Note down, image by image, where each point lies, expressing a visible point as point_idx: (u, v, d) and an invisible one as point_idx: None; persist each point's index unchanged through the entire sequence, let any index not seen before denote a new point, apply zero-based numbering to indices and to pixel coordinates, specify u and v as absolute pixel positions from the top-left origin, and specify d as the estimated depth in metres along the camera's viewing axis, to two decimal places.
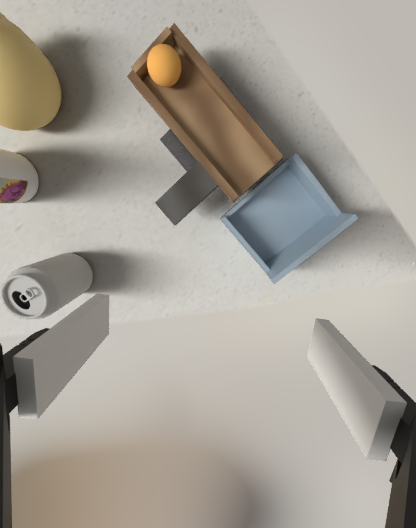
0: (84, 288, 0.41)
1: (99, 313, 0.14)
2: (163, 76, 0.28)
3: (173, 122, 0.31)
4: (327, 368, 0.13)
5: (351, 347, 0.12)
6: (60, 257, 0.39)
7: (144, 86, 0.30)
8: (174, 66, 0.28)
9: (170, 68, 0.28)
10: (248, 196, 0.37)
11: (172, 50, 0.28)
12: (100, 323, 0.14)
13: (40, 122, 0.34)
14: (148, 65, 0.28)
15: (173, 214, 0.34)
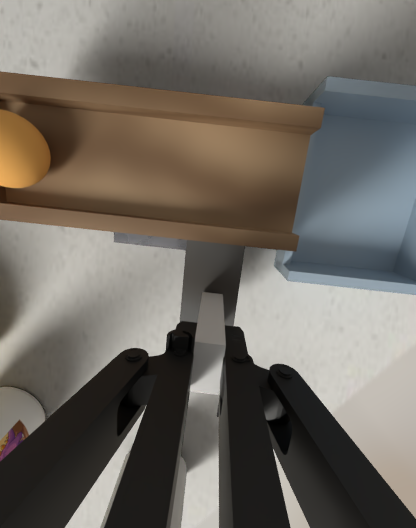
0: (182, 485, 0.26)
1: None
2: (19, 169, 0.13)
3: (102, 219, 0.15)
4: None
5: (220, 312, 0.15)
6: None
7: (12, 207, 0.15)
8: (19, 136, 0.13)
9: (16, 146, 0.13)
10: None
11: None
12: None
13: None
14: None
15: None
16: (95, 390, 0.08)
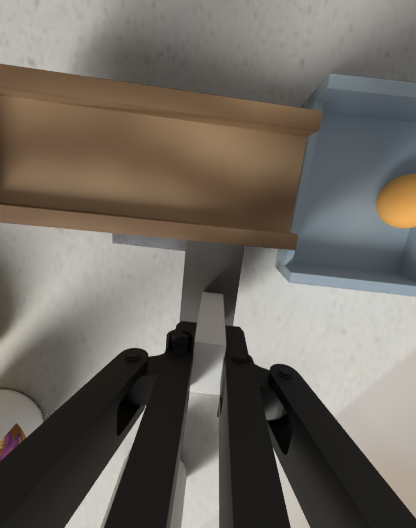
0: (182, 490, 0.26)
1: None
2: None
3: (101, 220, 0.15)
4: None
5: (221, 312, 0.15)
6: None
7: (1, 208, 0.14)
8: None
9: None
10: (297, 209, 0.19)
11: None
12: None
13: None
14: None
15: None
16: (95, 390, 0.08)
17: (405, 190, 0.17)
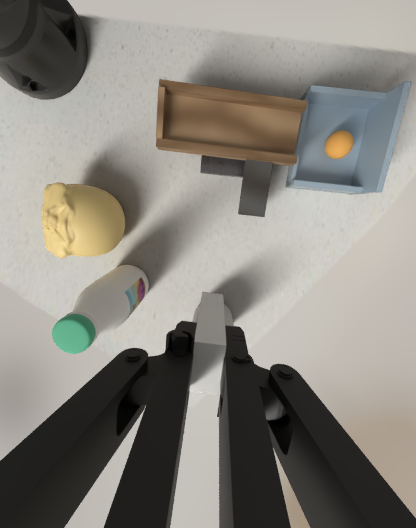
0: (232, 319, 0.45)
1: None
2: (349, 151, 0.37)
3: (213, 147, 0.34)
4: None
5: (221, 312, 0.15)
6: None
7: (173, 141, 0.34)
8: (353, 139, 0.37)
9: (352, 143, 0.37)
10: (297, 151, 0.39)
11: (346, 131, 0.37)
12: None
13: (123, 231, 0.41)
14: (335, 153, 0.38)
15: (258, 210, 0.38)
16: (95, 390, 0.08)
17: (326, 140, 0.39)
